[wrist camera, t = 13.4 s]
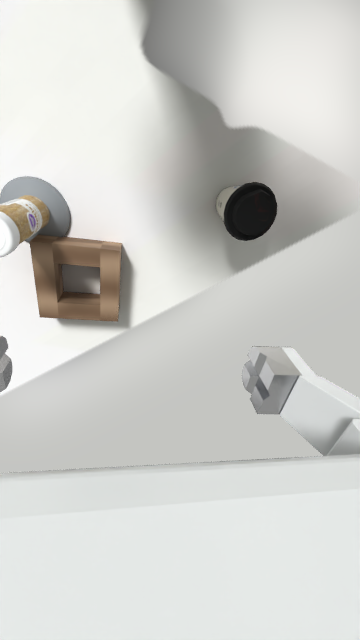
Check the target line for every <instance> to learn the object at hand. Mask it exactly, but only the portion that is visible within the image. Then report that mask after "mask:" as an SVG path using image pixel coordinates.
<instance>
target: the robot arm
mask: <svg viewBox="0 0 360 640" xmlns="http://www.w3.org/2000/svg"><path fill="white" fill-rule="evenodd" d="M7 349H8V344H7V340H6V338H4V337H3V336H0V392H1V391H3V390H5V389H6V388H7V386H8V384H9V382H10V379H11V375H12V362H11V358H9V357H8V356H7V355H6V354H5V352H6V350H7ZM248 357H249V359H250V360H249V361H248V362H247V363H246V364H245V365H244V367H243V371H242V380H243V385H244V387H245V389H246V390H247V391H248V392H250V393H251V394H252V395H251V398H250V400H251V402H252V404H253V406H254V408H255V410H256V412H257V414H280V416H281V417H282V418H283V419H284V420H285V421H286V422H287V423H288V424H289V425H291V426H292V427H293V428H294V429H295V430H296V431H297V432H298V433H299V434H300V435H302V436H303V437H304V438H305V439H306V440H307V441H308V442H309V443H310V444H311V445H312V446H313V447H315V448H316V449H317V450H318V451H319V452H320V453H321V454H322V455H323V456H314V457H295V458H275V459H257V460H239V461H220V462H201V463H182V464H164V465H144V466H126V467H105V468H86V469H69V470H68V469H67V470H48V471H29V472H13V473H12V472H10V473H0V640H360V398H358V397H357V396H355V395H353V394H351V393H350V392H348V391H346V390H344V389H342V388H341V387H339V386H337V385H336V384H334V383H332V382H330V381H328V380H327V379H325V378H323V377H321V376H316V374H315V373H314V372H313V371H312V370H311V368H310V367H309V366H308V365H307V364H306V363H305V361H304V360H303V359H302V358H301V356H300V355H299V354H298V353H297V352H296V350H295V349H294V348H292V347H260V346H252V347H251V349H250V350H249V353H248Z"/></svg>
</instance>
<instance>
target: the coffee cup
mask: <svg viewBox="0 0 360 640" xmlns="http://www.w3.org/2000/svg"><path fill="white" fill-rule="evenodd" d="M216 209H217V212H218V214H219V215H220V217H221V219H222V220H223V222H224V224H225V226H226V229H227V231H228V232H229V233H230V234H231V235H232V236H233V237H235V238H236V239H238V240H244V241H248V240H253V239H256V238H258V237H260V236H262V235H263V234H264V233H266V232H267V231H268V230H269V229H270V227H271V225H272V224H273V222H274V220H275V217H276V214H277V203H276V199H275V195H274V194H273V192H272V191H271V189H270V188H269V187H267V186H266V185H264V184H262V183H257V182H252V183H247V184H244V185H241V186H232V187H227V188H225V189H223V190H222V191H221V192H220V193H219V195H218V197H217V200H216Z"/></svg>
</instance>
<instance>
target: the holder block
mask: <svg viewBox="0 0 360 640" xmlns="http://www.w3.org/2000/svg"><path fill="white" fill-rule="evenodd" d="M30 248H31V255H32V263H33V270H34V277H35V285H36V292H37V299H38V307H39V314H40V317H45V318H63V319H81V320H100V321H118V315H119V300H120V275H121V249H122V243H115V242H106V241H98V240H89V239H80V238H71V237H55V236H46V235H37V236H36V237H34V238H33V239H32V240H30ZM61 264H69V265H79V266H90V267H100V294H88V293H74V292H63V279H62V267H61Z"/></svg>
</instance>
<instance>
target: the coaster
mask: <svg viewBox="0 0 360 640" xmlns="http://www.w3.org/2000/svg"><path fill="white" fill-rule="evenodd" d="M24 195H31V196H34V197H37V198H39V199H40V200H41V201H42V202H43V203H44V204H45V205H46V206H47V208H48V210H49V216H50V217H49V222H48V224H47V225H46V226H45V227H44V228H41V229H40V230H39V231H38V232H36V233H35V234H34V235H32V236H31V237H30V238H28V239H26V240H25V241H27V242H30V240H32V239H33V238H34V237H36V236H37V235H46V236H55V237H63V236H64V235H65V233H66V232H67V230H68V227H69V223H70V213H69V209H68V206H67V203H66V201H65V200H64V198H63V196H62V195H61V194H60V193H59V191H58V190H57V189H56V188H54V187H53V186H52V185H51V184H49V183H47V182H46V181H44V180H42V179H39V178H35V177H28V176H27V177H19V178H16V179H13V180H11V181H10V182H8V183H7V184H6V185H5V187H4V188H3V190H2V192H1V194H0V204H3V203H6V202H8V201H11V200H14V199H18V198H20V197H22V196H24Z"/></svg>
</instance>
